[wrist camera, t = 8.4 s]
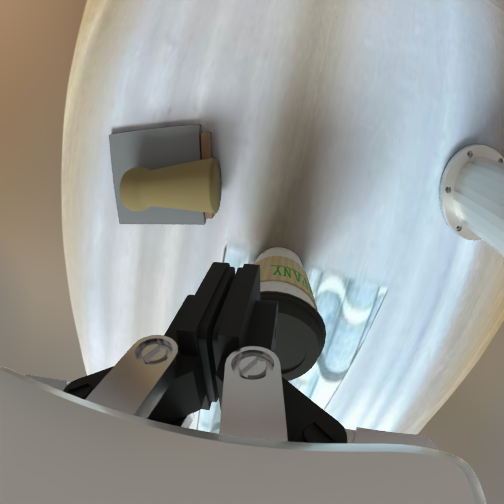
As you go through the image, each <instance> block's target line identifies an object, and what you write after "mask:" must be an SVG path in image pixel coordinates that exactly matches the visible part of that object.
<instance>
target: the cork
mask: <svg viewBox="0 0 504 504" xmlns="http://www.w3.org/2000/svg"><path fill="white" fill-rule="evenodd" d="M120 197H121V200H122V203H123V204H124V206H125V207H126V208H128V209H129V210H131V211H144V210H147V209H148V208H149V207H151V206H156V207H165V208H174V209H183V210H191V211H200V212H208V213H217V212H218V210H219V206H220V201H221V173H220V167H219V163H218V160H217V159H216V158H209V159H204V160H198V161H193V162H188V163H183V164H178V165H173V166H168V167H163V168H159V169H154V170H149V169H147V168H144V167H134V168H131V169H129V170H127V171H126V172H125V173H124V174H123V176H122V178H121V182H120Z"/></svg>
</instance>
